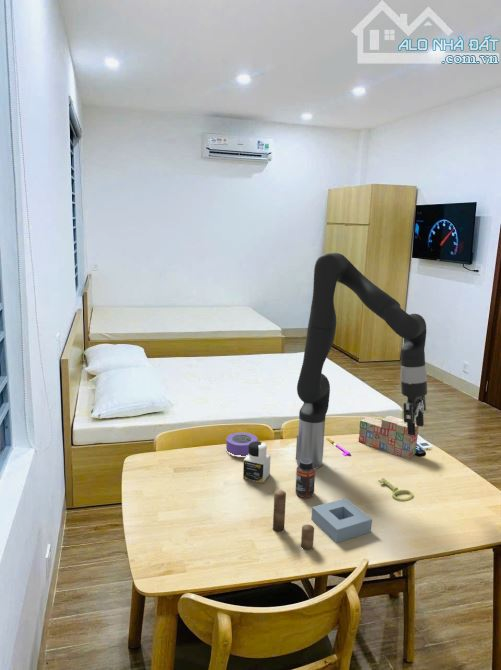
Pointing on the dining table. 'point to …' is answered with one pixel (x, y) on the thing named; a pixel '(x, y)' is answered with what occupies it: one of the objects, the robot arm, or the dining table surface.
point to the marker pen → (340, 448)
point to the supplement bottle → (305, 478)
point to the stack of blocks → (388, 435)
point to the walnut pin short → (307, 537)
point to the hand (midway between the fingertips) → (415, 430)
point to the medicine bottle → (257, 462)
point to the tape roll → (239, 443)
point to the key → (397, 491)
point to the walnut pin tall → (279, 510)
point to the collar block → (342, 529)
